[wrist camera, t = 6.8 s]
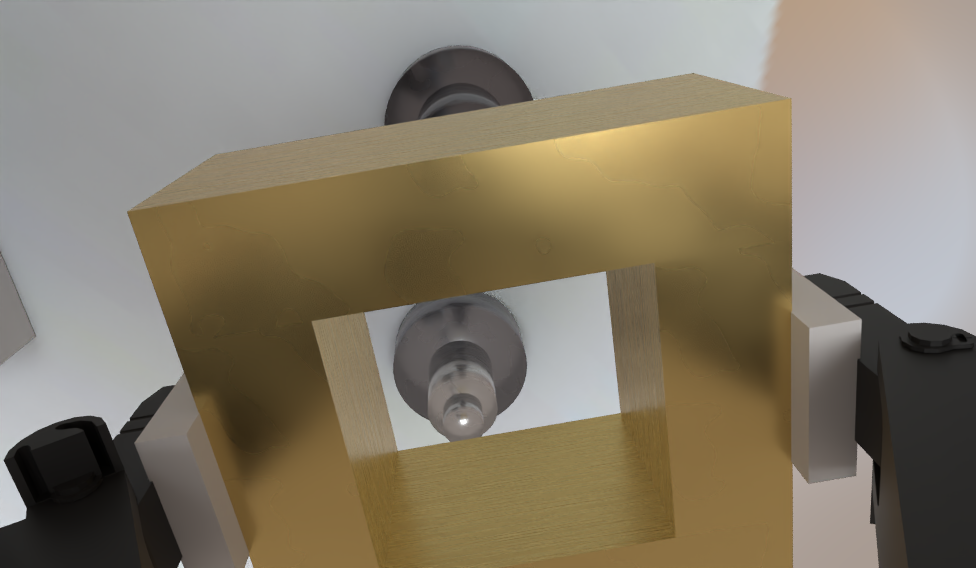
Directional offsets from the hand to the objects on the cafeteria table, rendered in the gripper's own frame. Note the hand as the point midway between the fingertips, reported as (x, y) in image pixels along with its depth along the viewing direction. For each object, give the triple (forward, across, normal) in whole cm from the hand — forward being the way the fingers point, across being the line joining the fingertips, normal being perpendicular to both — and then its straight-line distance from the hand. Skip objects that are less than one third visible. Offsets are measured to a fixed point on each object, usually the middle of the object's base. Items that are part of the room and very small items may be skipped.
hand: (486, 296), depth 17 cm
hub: (+20, -2, -11) cm, 22 cm away
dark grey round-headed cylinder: (+20, 0, +1) cm, 20 cm away
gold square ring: (-2, 0, 0) cm, 2 cm away
